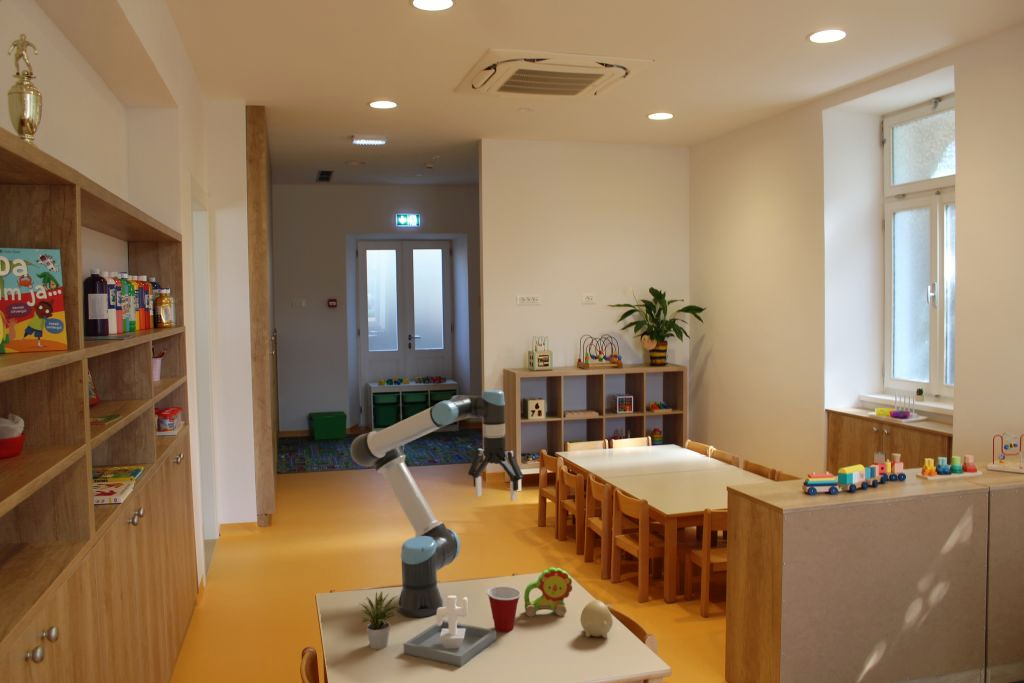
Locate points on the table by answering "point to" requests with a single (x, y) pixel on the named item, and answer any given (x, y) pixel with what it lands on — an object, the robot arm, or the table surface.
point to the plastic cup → (503, 606)
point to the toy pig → (596, 619)
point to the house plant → (378, 622)
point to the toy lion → (549, 592)
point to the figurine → (452, 622)
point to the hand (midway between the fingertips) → (496, 498)
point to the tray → (434, 650)
